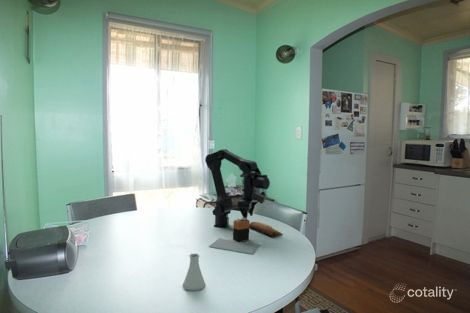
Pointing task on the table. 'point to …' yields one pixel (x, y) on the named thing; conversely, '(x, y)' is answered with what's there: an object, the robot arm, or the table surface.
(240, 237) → the battery
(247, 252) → the rubber mat
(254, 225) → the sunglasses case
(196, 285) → the flask
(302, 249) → the table surface
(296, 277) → the table surface
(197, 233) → the table surface
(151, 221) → the table surface
